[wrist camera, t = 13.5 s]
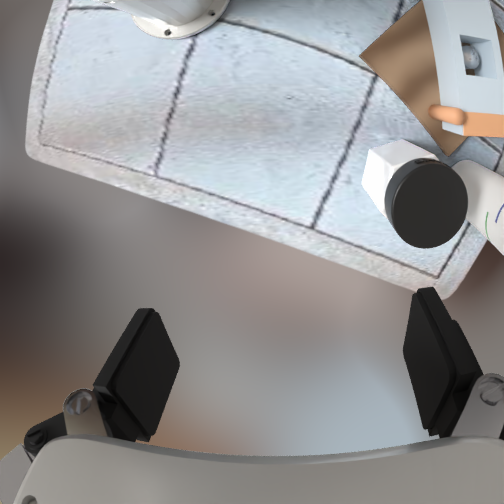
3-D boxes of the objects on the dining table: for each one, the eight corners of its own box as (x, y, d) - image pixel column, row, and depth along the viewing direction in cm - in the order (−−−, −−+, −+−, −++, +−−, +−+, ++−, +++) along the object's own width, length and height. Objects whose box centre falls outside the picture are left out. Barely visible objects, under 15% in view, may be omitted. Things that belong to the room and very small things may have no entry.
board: (358, 56, 28) (360, 55, 28) (450, -25, 20) (453, -27, 19) (445, 154, 32) (448, 156, 31) (523, 70, 24) (527, 70, 23)
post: (444, 55, 25) (456, 53, 23) (456, 43, 24) (468, 41, 22) (458, 73, 26) (471, 73, 23) (470, 61, 25) (483, 60, 22)
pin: (425, 110, 29) (448, 115, 24) (434, 101, 28) (458, 104, 23) (434, 122, 30) (457, 128, 24) (443, 112, 29) (468, 118, 24)
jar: (436, 174, 34) (484, 209, 23) (395, 218, 37) (428, 267, 27) (390, 124, 32) (432, 140, 21) (347, 173, 35) (369, 208, 25)
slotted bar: (419, -11, 22) (436, -23, 17) (466, -3, 20) (486, -11, 16) (442, 129, 30) (463, 135, 25) (486, 130, 28) (508, 137, 24)
